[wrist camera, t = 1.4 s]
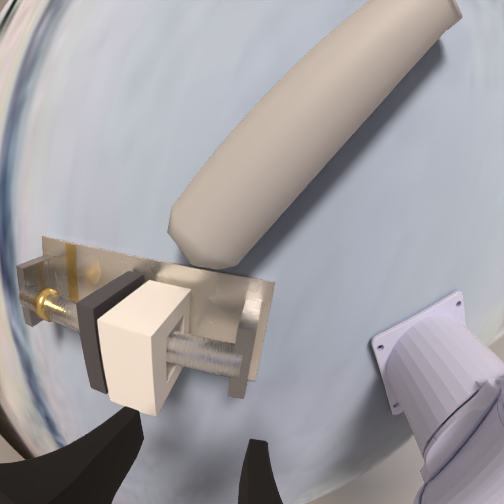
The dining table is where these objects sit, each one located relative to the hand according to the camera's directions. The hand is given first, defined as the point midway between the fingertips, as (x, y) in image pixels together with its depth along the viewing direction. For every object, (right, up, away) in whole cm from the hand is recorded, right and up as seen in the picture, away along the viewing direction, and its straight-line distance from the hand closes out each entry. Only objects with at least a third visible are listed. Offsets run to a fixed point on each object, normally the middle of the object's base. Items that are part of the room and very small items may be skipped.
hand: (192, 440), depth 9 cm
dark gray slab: (-6, +3, +10) cm, 12 cm away
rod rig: (-6, +3, +10) cm, 12 cm away
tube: (+7, +17, +6) cm, 19 cm away
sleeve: (-3, +3, +10) cm, 11 cm away
